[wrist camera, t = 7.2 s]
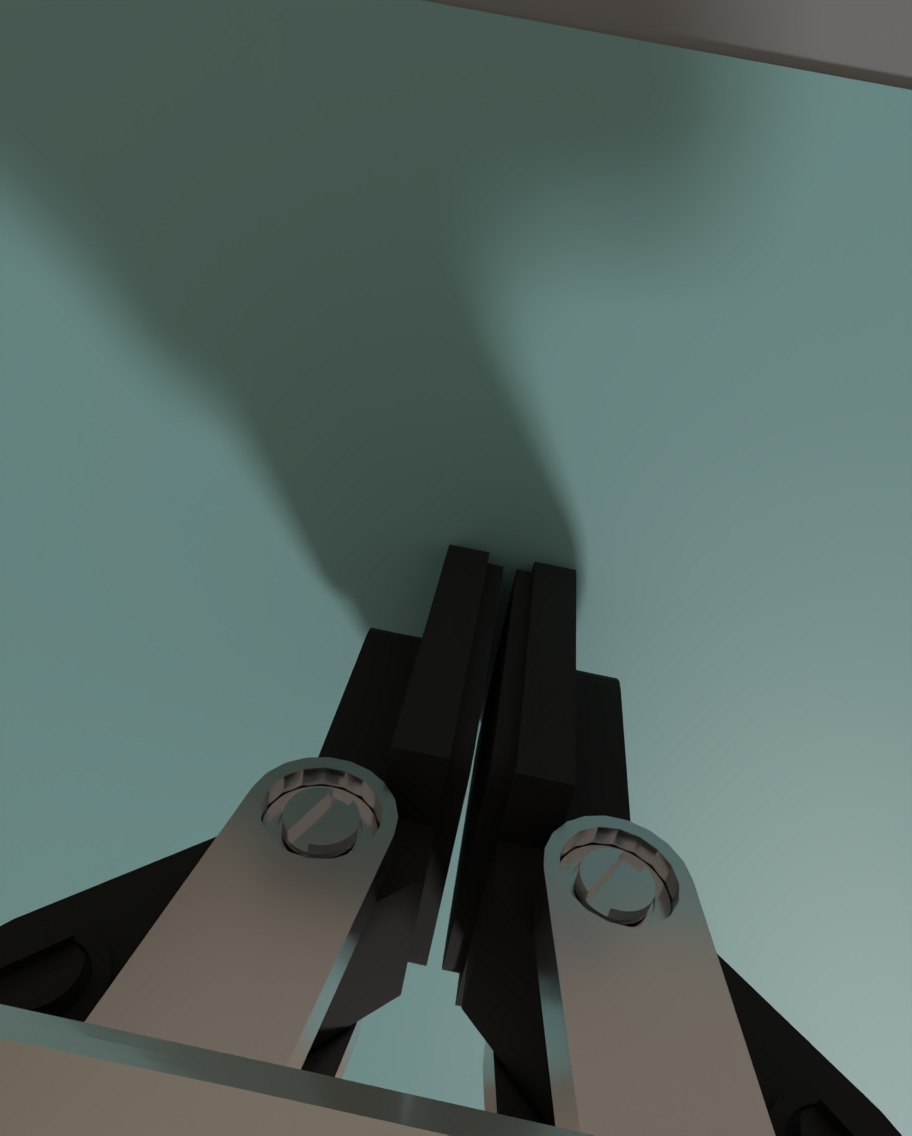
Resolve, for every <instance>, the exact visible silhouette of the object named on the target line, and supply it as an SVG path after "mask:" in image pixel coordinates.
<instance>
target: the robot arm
mask: <svg viewBox="0 0 912 1136" xmlns="http://www.w3.org/2000/svg"><path fill="white" fill-rule="evenodd" d="M489 554H490V552H485V551H480V550H475V549H470V548H465V547H460V546H455V545H450V544H449V547H448V550H447V554H446V557H445V561H444V564H443V568H442V571H441V575H440V578H439V581H438V585H437V588H436V592H435V595H434V599H433V602H432V606H431V609H430V612H429V616H428V619H427V623H426V626H425V630H424V633H423V637H422V638H420V637H415V636H410V635H405V634H400V633H395V632H391V631H386V630H381V629H376V628H370V629H369V631H368V633H367V635H366V638H365V640H364V643H363V645H362V648H361V650H360V653H359V655H358V658H357V660H356V663H355V665H354V668H353V670H352V673H351V676H350V678H349V681H348V683H347V686H346V688H345V691H344V693H343V696H342V698H341V701H340V703H339V706H338V708H337V711H336V713H335V716H334V718H333V721H332V723H331V726H330V729H329V731H328V734H327V736H326V739H325V741H324V744H323V746H322V749H321V751H320V754H319V756H318V757H307V758H303V759H299V760H294V761H290V762H286V763H284V764H282V765H280V766H278V767H276V768H274V769H273V770H271V771H269V772H267V773H266V774H265V775H264V776H263V777H262V778H261V779H260V780H259V781H258V782H257V783H256V784H255V785H254V786H253V787H252V788H251V789H250V791H249V792H248V794H247V795H246V796H245V798H244V799H243V801H242V802H241V803H240V805H239V806H238V808H237V809H236V810H235V812H234V813H233V815H232V816H231V817H230V819H229V820H228V822H227V823H226V824H225V826H224V827H223V829H222V830H221V831H220V833H219V834H218V836H217V837H214V838H212V839H209V840H207V841H204V842H202V843H199V844H197V845H194V846H192V847H189V848H187V849H185V850H182V851H180V852H177V853H175V854H172V855H170V856H167V857H165V858H162V859H160V860H158V861H155V862H153V863H150V864H148V865H145V866H143V867H140V868H138V869H135V870H133V871H130V872H128V873H126V874H123V875H121V876H118V877H116V878H113V879H111V880H108V881H106V882H103V883H101V884H98V885H96V886H94V887H91V888H89V889H86V890H84V891H81V892H79V893H76V894H74V895H71V896H69V897H67V898H64V899H62V900H59V901H57V902H54V903H52V904H49V905H47V906H44V907H42V908H39V909H37V910H35V911H32V912H30V913H27V914H25V915H22V916H20V917H17V918H15V919H13V920H11V921H9V922H7V923H5V924H3V925H1V926H0V1136H902V1135H901V1134H900V1133H899V1131H898V1130H897V1129H896V1128H895V1127H894V1126H893V1124H892V1123H891V1122H890V1121H889V1120H888V1119H887V1117H886V1116H885V1115H884V1114H883V1113H882V1112H881V1111H880V1110H879V1109H878V1108H877V1107H876V1106H875V1105H874V1104H873V1103H872V1102H871V1101H870V1100H869V1099H868V1098H867V1097H866V1096H865V1095H864V1094H863V1093H862V1092H861V1091H860V1090H859V1089H858V1088H857V1087H855V1086H854V1085H853V1084H852V1083H851V1082H850V1081H849V1080H848V1079H847V1078H846V1077H845V1076H844V1075H843V1074H842V1073H841V1072H840V1071H839V1070H838V1069H837V1068H836V1067H835V1066H834V1065H833V1064H832V1063H831V1062H829V1061H828V1060H827V1059H826V1058H825V1057H824V1056H823V1055H822V1054H821V1053H820V1052H819V1051H818V1050H817V1049H816V1048H815V1047H814V1046H813V1045H812V1044H811V1043H810V1042H809V1041H808V1040H807V1039H806V1038H805V1037H803V1036H802V1035H801V1034H800V1033H799V1032H798V1031H797V1030H796V1029H795V1028H794V1027H793V1026H792V1025H791V1024H790V1023H789V1022H788V1021H787V1020H786V1019H785V1018H784V1017H783V1016H782V1015H781V1014H780V1013H779V1012H777V1011H776V1010H775V1009H774V1008H773V1007H772V1006H771V1005H770V1004H769V1003H768V1002H767V1001H766V1000H765V999H764V998H763V997H762V996H761V995H760V994H759V993H758V992H757V991H756V990H755V989H754V988H753V987H751V986H750V985H749V984H748V983H747V982H746V981H745V980H744V979H743V978H742V977H741V976H740V975H739V974H738V973H737V972H736V971H735V970H734V969H733V968H732V967H731V966H730V965H729V964H728V963H727V962H725V961H724V960H723V959H722V958H721V957H720V956H719V955H718V954H717V953H716V949H715V946H714V943H713V940H712V937H711V934H710V931H709V928H708V925H707V921H706V918H705V915H704V912H703V909H702V906H701V903H700V900H699V897H698V894H697V890H696V887H695V884H694V881H693V879H692V877H691V875H690V873H689V871H688V869H687V867H686V865H685V863H684V861H683V860H682V859H681V858H680V857H679V856H678V854H677V853H676V852H675V851H674V850H673V849H672V848H671V846H670V845H669V844H668V843H666V842H665V841H663V840H662V839H661V838H659V837H658V836H657V835H655V834H654V833H653V832H651V831H650V830H648V829H646V828H644V827H641V826H639V825H637V824H635V823H632V822H631V820H630V807H629V793H628V780H627V766H626V753H625V739H624V726H623V712H622V699H621V687H620V682H619V680H618V679H617V678H613V677H608V676H603V675H599V674H594V673H589V672H584V671H579V670H576V570H574V569H569V568H564V567H559V566H554V565H549V564H544V563H539V562H534V565H533V568H532V572H529V571H524V570H519V569H517V570H516V573H515V577H514V581H513V585H512V590H511V594H510V599H509V603H508V607H507V612H506V616H505V621H504V625H503V629H502V634H501V638H500V643H499V647H498V651H497V656H496V660H495V665H494V669H493V673H492V678H491V682H490V687H489V691H488V695H487V700H486V704H485V709H484V713H483V717H482V722H481V726H480V731H479V736H478V741H477V746H476V752H475V758H474V764H473V771H472V777H471V784H470V790H469V796H468V803H467V809H466V815H465V822H464V828H463V835H462V841H461V847H460V854H459V860H458V866H457V873H456V879H455V886H454V892H453V898H452V905H451V911H450V917H449V924H448V930H447V936H446V943H445V949H444V956H443V962H442V970H446V971H451V972H455V973H459V980H458V987H457V995H456V1002H455V1005H457V1006H461V1007H462V1008H461V1009H462V1010H463V1011H464V1013H465V1014H466V1015H467V1017H468V1018H469V1019H470V1021H471V1022H472V1023H473V1025H474V1026H475V1027H476V1029H477V1030H478V1031H479V1033H480V1034H481V1035H482V1037H483V1038H484V1039H485V1041H486V1042H485V1046H484V1055H483V1065H482V1066H483V1087H484V1107H485V1111H483V1110H479V1109H474V1108H470V1107H466V1106H461V1105H457V1104H452V1103H448V1102H443V1101H439V1100H434V1099H430V1098H425V1097H421V1096H416V1095H412V1094H407V1093H403V1092H398V1091H394V1090H389V1089H385V1088H381V1087H376V1086H372V1085H367V1084H363V1083H358V1082H354V1081H349V1080H345V1079H342V1077H343V1075H344V1072H345V1070H346V1067H347V1065H348V1062H349V1060H350V1057H351V1055H352V1052H353V1050H354V1047H355V1045H356V1042H357V1040H358V1037H359V1033H360V1028H361V1024H362V1020H363V1018H364V1017H366V1016H367V1015H369V1014H371V1013H372V1012H374V1011H375V1010H377V1009H379V1008H380V1007H382V1006H384V1005H385V1004H387V1003H389V1002H390V1001H392V1000H394V999H395V998H397V997H399V996H400V995H401V992H402V987H403V983H404V978H405V973H406V968H407V963H408V962H410V963H414V964H419V965H423V966H427V962H428V957H429V953H430V949H431V944H432V940H433V936H434V931H435V927H436V922H437V918H438V914H439V909H440V905H441V900H442V896H443V892H444V887H445V883H446V878H447V874H448V870H449V865H450V861H451V856H452V852H453V848H454V843H455V839H456V834H457V830H458V826H459V821H460V817H461V812H462V808H463V804H464V799H465V795H466V790H467V786H468V781H469V776H470V772H471V767H472V761H473V756H474V751H475V745H476V739H477V732H478V726H479V720H480V713H481V707H482V701H483V695H484V688H485V682H486V676H487V669H488V663H489V657H490V650H491V644H492V638H493V632H494V625H495V619H496V613H497V606H498V600H499V594H500V587H501V581H502V575H503V568H504V566H499V565H494V564H489V563H488V559H489Z"/></svg>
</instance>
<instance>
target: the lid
mask: <svg viewBox="0 0 912 1136" xmlns="http://www.w3.org/2000/svg"><path fill="white" fill-rule="evenodd" d="M449 544H450V545H455V546H460V547H465V548H470V549H475V550H480V551H485V552H490V554H489V559H488V563H489V564H494V565H499V566H504V568H503V575H502V581H501V587H500V594H499V600H498V606H497V613H496V619H495V625H494V632H493V638H492V644H491V650H490V657H489V663H488V669H487V676H486V682H485V688H484V695H483V701H482V707H481V713H480V720H479V726H478V732H477V739H476V745H475V751H474V756H473V761H472V767H471V772H470V776H469V781H468V786H467V790H466V795H465V799H464V804H463V808H462V812H461V817H460V821H459V826H458V830H457V834H456V839H455V843H454V848H453V852H452V856H451V861H450V865H449V870H448V874H447V878H446V883H445V887H444V892H443V896H442V900H441V905H440V909H439V914H438V918H437V922H436V927H435V931H434V936H433V940H432V944H431V949H430V953H429V957H428V962H427V966H423V965H419V964H414V963H410V962H408V963H407V968H406V973H405V978H404V983H403V987H402V992H401V995H400V996H399V997H397V998H395V999H394V1000H392V1001H390V1002H389V1003H387V1004H385V1005H384V1006H382V1007H380V1008H379V1009H377V1010H375V1011H374V1012H372V1013H371V1014H369V1015H367V1016H366V1017H364V1018H363V1020H362V1024H361V1028H360V1033H359V1037H358V1040H357V1042H356V1045H355V1047H354V1050H353V1052H352V1055H351V1057H350V1060H349V1062H348V1065H347V1067H346V1070H345V1072H344V1075H343V1077H342V1079H345V1080H349V1081H354V1082H358V1083H363V1084H367V1085H372V1086H376V1087H381V1088H385V1089H389V1090H394V1091H398V1092H403V1093H407V1094H412V1095H416V1096H421V1097H425V1098H430V1099H434V1100H439V1101H443V1102H448V1103H452V1104H457V1105H461V1106H466V1107H470V1108H474V1109H479V1110H483V1111H485V1107H484V1087H483V1066H482V1065H483V1055H484V1046H485V1042H486V1041H485V1039H484V1038H483V1037H482V1035H481V1034H480V1033H479V1031H478V1030H477V1029H476V1027H475V1026H474V1025H473V1023H472V1022H471V1021H470V1019H469V1018H468V1017H467V1015H466V1014H465V1013H464V1011H463V1010H462V1009H461V1008H462V1007H461V1006H457V1005H455V1002H456V995H457V987H458V980H459V973H455V972H451V971H446V970H442V962H443V956H444V949H445V943H446V936H447V930H448V924H449V917H450V911H451V905H452V898H453V892H454V886H455V879H456V873H457V866H458V860H459V854H460V847H461V841H462V835H463V828H464V822H465V815H466V809H467V803H468V796H469V790H470V784H471V777H472V771H473V764H474V758H475V752H476V746H477V741H478V736H479V731H480V726H481V722H482V717H483V713H484V709H485V704H486V700H487V695H488V691H489V687H490V682H491V678H492V673H493V669H494V665H495V660H496V656H497V651H498V647H499V643H500V638H501V634H502V629H503V625H504V621H505V616H506V612H507V607H508V603H509V599H510V594H511V590H512V585H513V581H514V577H515V573H516V570H517V569H519V570H524V571H529V572H532V568H533V565H534V562H539V563H544V564H549V565H554V566H559V567H564V568H569V569H574V570H576V670H579V671H584V672H589V673H594V674H599V675H603V676H608V677H613V678H617V679H618V680H619V682H620V687H621V699H622V712H623V726H624V739H625V753H626V766H627V780H628V793H629V807H630V820H631V822H632V823H635V824H637V825H639V826H641V827H644V828H646V829H648V830H650V831H651V832H653V833H654V834H655V835H657V836H658V837H659V838H661V839H662V840H663V841H665V842H666V843H668V844H669V845H670V846H671V848H672V849H673V850H674V851H675V852H676V853H677V854H678V856H679V857H680V858H681V859H682V860H683V861H684V863H685V865H686V867H687V869H688V871H689V873H690V875H691V877H692V879H693V881H694V884H695V887H696V890H697V894H698V897H699V900H700V903H701V906H702V909H703V912H704V915H705V918H706V921H707V925H708V928H709V931H710V934H711V937H712V940H713V943H714V946H715V949H716V953H717V954H718V955H719V956H720V957H721V958H722V959H723V960H724V961H725V962H727V963H728V964H729V965H730V966H731V967H732V968H733V969H734V970H735V971H736V972H737V973H738V974H739V975H740V976H741V977H742V978H743V979H744V980H745V981H746V982H747V983H748V984H749V985H750V986H751V987H753V988H754V989H755V990H756V991H757V992H758V993H759V994H760V995H761V996H762V997H763V998H764V999H765V1000H766V1001H767V1002H768V1003H769V1004H770V1005H771V1006H772V1007H773V1008H774V1009H775V1010H776V1011H777V1012H779V1013H780V1014H781V1015H782V1016H783V1017H784V1018H785V1019H786V1020H787V1021H788V1022H789V1023H790V1024H791V1025H792V1026H793V1027H794V1028H795V1029H796V1030H797V1031H798V1032H799V1033H800V1034H801V1035H802V1036H803V1037H805V1038H806V1039H807V1040H808V1041H809V1042H810V1043H811V1044H812V1045H813V1046H814V1047H815V1048H816V1049H817V1050H818V1051H819V1052H820V1053H821V1054H822V1055H823V1056H824V1057H825V1058H826V1059H827V1060H828V1061H829V1062H831V1063H832V1064H833V1065H834V1066H835V1067H836V1068H837V1069H838V1070H839V1071H840V1072H841V1073H842V1074H843V1075H844V1076H845V1077H846V1078H847V1079H848V1080H849V1081H850V1082H851V1083H852V1084H853V1085H854V1086H855V1087H857V1088H858V1089H859V1090H860V1091H861V1092H862V1093H863V1094H864V1095H865V1096H866V1097H867V1098H868V1099H869V1100H870V1101H871V1102H872V1103H873V1104H874V1105H875V1106H876V1107H877V1108H878V1109H879V1110H880V1111H881V1112H882V1113H883V1114H884V1115H885V1116H886V1117H887V1119H888V1120H889V1121H890V1122H891V1123H892V1124H893V1126H894V1127H895V1128H896V1129H897V1130H898V1131H899V1133H900V1134H901V1135H902V1136H912V0H0V926H1V925H3V924H5V923H7V922H9V921H11V920H13V919H15V918H17V917H20V916H22V915H25V914H27V913H30V912H32V911H35V910H37V909H39V908H42V907H44V906H47V905H49V904H52V903H54V902H57V901H59V900H62V899H64V898H67V897H69V896H71V895H74V894H76V893H79V892H81V891H84V890H86V889H89V888H91V887H94V886H96V885H98V884H101V883H103V882H106V881H108V880H111V879H113V878H116V877H118V876H121V875H123V874H126V873H128V872H130V871H133V870H135V869H138V868H140V867H143V866H145V865H148V864H150V863H153V862H155V861H158V860H160V859H162V858H165V857H167V856H170V855H172V854H175V853H177V852H180V851H182V850H185V849H187V848H189V847H192V846H194V845H197V844H199V843H202V842H204V841H207V840H209V839H212V838H214V837H217V836H218V834H219V833H220V831H221V830H222V829H223V827H224V826H225V824H226V823H227V822H228V820H229V819H230V817H231V816H232V815H233V813H234V812H235V810H236V809H237V808H238V806H239V805H240V803H241V802H242V801H243V799H244V798H245V796H246V795H247V794H248V792H249V791H250V789H251V788H252V787H253V786H254V785H255V784H256V783H257V782H258V781H259V780H260V779H261V778H262V777H263V776H264V775H265V774H266V773H267V772H269V771H271V770H273V769H274V768H276V767H278V766H280V765H282V764H284V763H286V762H290V761H294V760H299V759H303V758H307V757H318V756H319V754H320V751H321V749H322V746H323V744H324V741H325V739H326V736H327V734H328V731H329V729H330V726H331V723H332V721H333V718H334V716H335V713H336V711H337V708H338V706H339V703H340V701H341V698H342V696H343V693H344V691H345V688H346V686H347V683H348V681H349V678H350V676H351V673H352V670H353V668H354V665H355V663H356V660H357V658H358V655H359V653H360V650H361V648H362V645H363V643H364V640H365V638H366V635H367V633H368V631H369V629H370V628H376V629H381V630H386V631H391V632H395V633H400V634H405V635H410V636H415V637H420V638H422V637H423V633H424V630H425V626H426V623H427V619H428V616H429V612H430V609H431V606H432V602H433V599H434V595H435V592H436V588H437V585H438V581H439V578H440V575H441V571H442V568H443V564H444V561H445V557H446V554H447V550H448V547H449Z"/></svg>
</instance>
